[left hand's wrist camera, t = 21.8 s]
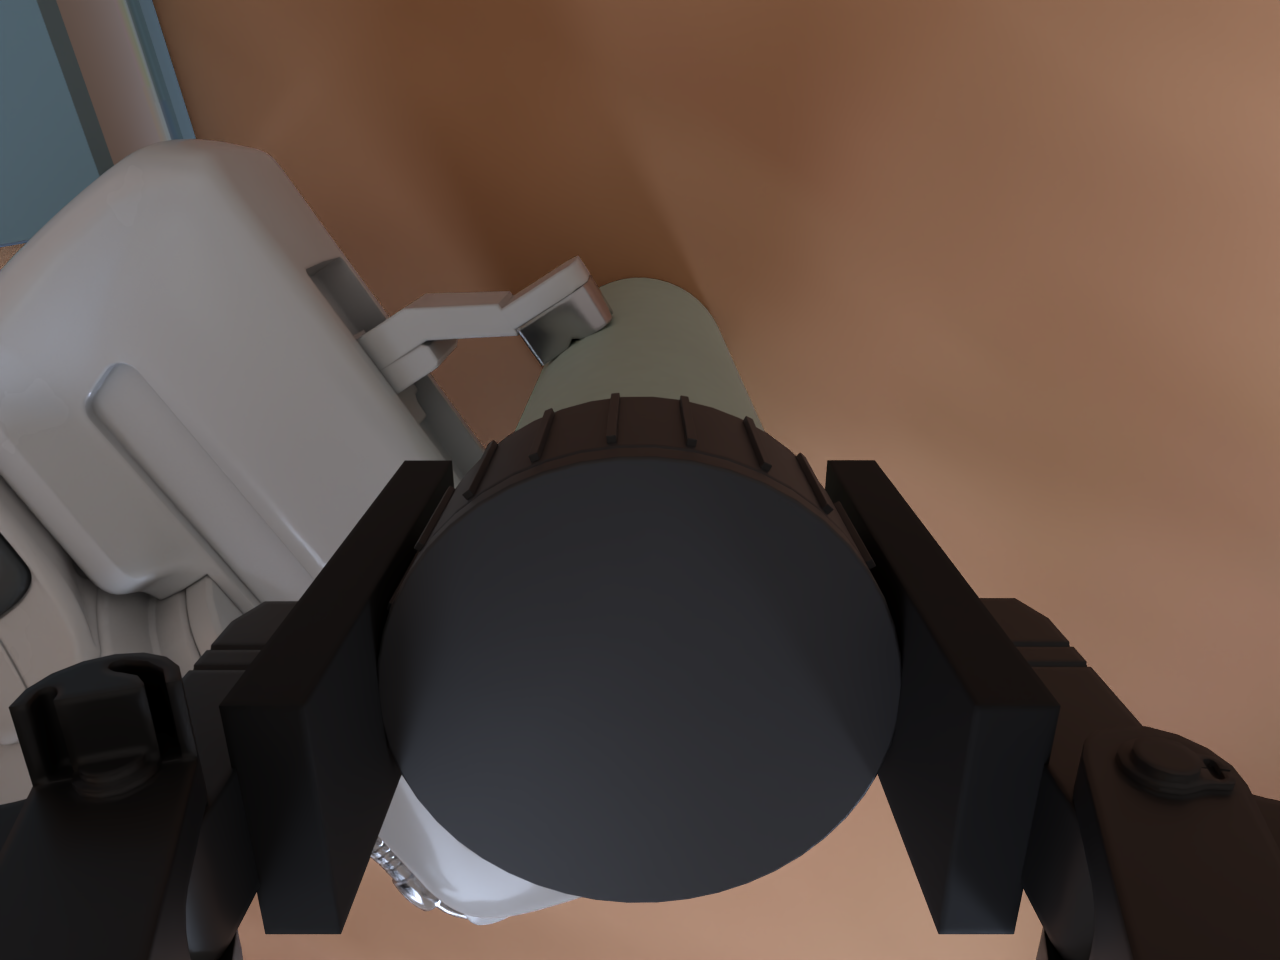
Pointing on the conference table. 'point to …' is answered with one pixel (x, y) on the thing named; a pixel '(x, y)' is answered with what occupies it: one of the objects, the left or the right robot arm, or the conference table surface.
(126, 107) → the book
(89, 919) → the left robot arm
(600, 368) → the jar
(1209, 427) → the conference table surface
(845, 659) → the lid
